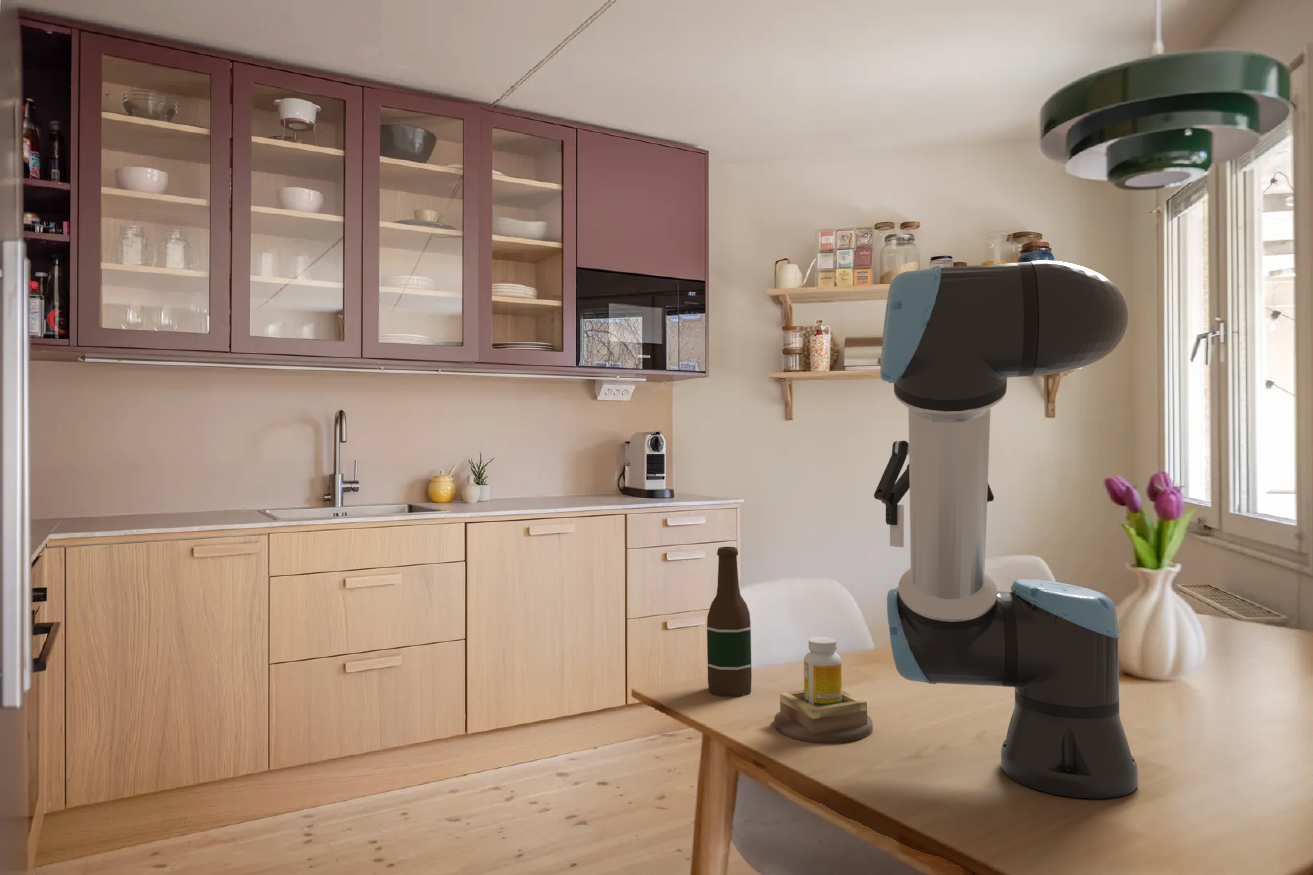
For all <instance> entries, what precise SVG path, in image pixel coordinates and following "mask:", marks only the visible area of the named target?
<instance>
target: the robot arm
mask: <svg viewBox="0 0 1313 875" xmlns="http://www.w3.org/2000/svg"><path fill="white" fill-rule="evenodd" d="M888 288H889V289H888V293H887V297H886V298H887V299H886V304H885V305H886V306H885V314H884V321H883V322H884V323H883V332H882V346H881V353H880V366H879V367H880V369H879V370H880V371H879V375H880V379H881V380H882V381H884V382H888V383H889V384H893V393H894V396H895V398H896V400H897V401H899V402H900V403H901V404H903V405H904V407H906V408H907V409H908V441H907V440H896V441H893V443H892V447H891V456H890V457H889V459H888V462H887V464H886V467H885V469H884V470H883V474H882V475H881V478H880V479H879V482H878V485H877V487H876V489H875V492H874V494H873V497H874V499H875V500H879V501H881V503H883V504H884V505H885V523H886V525H887V526H888V525H889V546H890V547H894V548H895V547H896V548H904V546H905V544H904V542H905V540H904V539H905V538H904V537H905V536H904V535H905V532H904V530H905V528H904V527H905V517H904V516H905V512H904V511H905V510H904V509H905V505H904V504H899V503H900V502H901V500H902V499H903V497H904V496H905V495H906V493H907V492H908V491H909V533H910V535H909V536H910V537H909V539H910V540H909V541H910V542H909V543H910V554H909V555H910V568H909V569H907V570H906V571H904V573H903V574H902V575H901V577H900V579H899V582H898V585H897V587H895V588H891V589H890V590H889V591H888V592H887V595H886V611H887V613H886V615H887V623H888V629H889V639H890V647H891V651H892V652H891V653H892V656H893V662H894V665H895V668H896V671H897V672H898V674H899V675H900V677H902V678H904V679H905V680H908V681H913V682H918V683H920V682H921V683H927V684H929V685H937V684H945V685H946V684H947V685H969V686H991V687H992V686H993V687H1005V688H1006V687H1008V688H1014V709H1013V712H1012V715H1011V718H1010V721H1009V724H1008V727H1007V732H1006V737H1005V740H1004V741H1003V742H1002V745H1001V749H1000V761H1001V762H1000V767H1001V770H1002V771H1003V773H1004V774H1005V775H1006V776H1007V777H1009V778H1010V779H1012V780H1013V781H1015V782H1017V783H1019V784H1021V785H1023V786H1025V787H1028V788H1030V789H1031V788H1032V789H1034V790H1037V791H1041V792H1044V793H1048V794H1052V795H1057V796H1064V797H1070V798H1080V799H1081V798H1082V799H1110V798H1111V799H1112V798H1118V797H1124V796H1126V795H1130V794H1131V793H1132V792H1135V790H1136V789H1137V788H1138V786H1139V783H1138V781H1139V780H1138V779H1139V778H1138V763H1137V762H1136V759H1135V757H1134V756H1133V755H1132V753H1131V749H1130V746H1129V742H1128V739H1127V736H1126V733H1125V730H1124V726H1123V723H1122V721H1121V715H1120V683H1119V682H1120V677H1119V676H1120V675H1119V674H1120V670H1119V668H1120V667H1119V639H1120V638H1121V635H1120V632H1119V626H1118V615H1117V608H1116V606H1115V603H1114V602H1113V600H1112V599H1111V598H1110V597H1109V596H1107V595H1106V594H1103V593H1102V592H1099V591H1096V590H1093V589H1091V588H1086V587H1083V586H1079V585H1075V584H1068V583H1064V582H1057V581H1050V580H1042V579H1033V578H1031V579H1027V578H1026V579H1025V578H1020V579H1015V580H1014V581H1013V582H1012V585H1011V586H1010V590H1011V591H998V587H997V585H996V583H995V581H994V580H993V579H992V577H991V576H990V575H989V574H988V573H986V545H987V516H988V512H987V511H988V503H989V502H993V501H994V500H995V496H994V494H993V491H992V490H991V486H990V485H989V463H990V462H989V458H990V433H991V431H990V430H991V408H993V407H994V406H996V405H997V404H998V403H1000V402H1001V401H1002V400H1003V399H1004V398H1005V396H1006V394H1007V388H1008V387H1007V386H1008V378H1018V377H1021V378H1022V377H1032V376H1033V377H1034V376H1037V377H1039V376H1048V375H1054V374H1060V373H1061V374H1062V373H1066V372H1069V371H1073V370H1076V369H1080V368H1084V367H1087V366H1089V365H1092V364H1094V363H1097V362H1099V361H1100V360H1102V359H1104V358H1105V357H1106V356H1108V355H1109V354H1111V353H1112V352H1113V351H1114V350H1115V349H1116V348H1117V347H1118V346H1119V344H1120V343H1121V342H1122V339H1123V337H1124V335H1125V333H1126V330H1127V327H1128V322H1129V312H1128V311H1129V310H1128V308H1127V302H1126V300H1125V298H1124V296H1123V294H1122V292H1121V291H1120V290H1119V288H1118V287H1117V286H1116V285H1115V284H1114V283H1113V282H1112V281H1111V280H1109V279H1108V278H1107V277H1106V276H1104V275H1103V274H1101V273H1099V272H1096V271H1094V270H1092V269H1089V268H1086V267H1084V266H1081V265H1077V264H1074V263H1069V262H1063V261H1058V260H1056V261H1055V260H1032V261H1030V260H1029V261H1027V262H1025V261H1024V262H1009V263H1008V262H1007V263H995V264H978V265H977V264H976V265H963V266H948V267H947V266H946V267H940V266H937V265H936V266H932V267H931V268H926V269H918V270H917V269H916V270H910V271H908V270H907V271H903V272H901V273H899V274H897V275H896V276H895V277H894V278H893V279H892V281H891V282H890V285H889V287H888ZM907 456H908V464H907V465H906V469H905V470H904V471H903V473H902V474H901V475H900V473H901V471H902V469H903V467H904V464H905V462H906V459H907ZM899 475H900V476H899ZM898 477H899V478H898Z"/></svg>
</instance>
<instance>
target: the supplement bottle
mask: <svg viewBox="0 0 1313 875" xmlns="http://www.w3.org/2000/svg"><path fill="white" fill-rule="evenodd" d="M837 649H838V646H837V640H836V639H835V638H832V637H826V636H825V637H824V636H816V637H811V638H809V639H808V650H809V651H810V652H807V653H806V654H805V656H804V658H803V685H804V686H803V690H804V702H806V703H808V704H810V705H812V706H814V707H818V706H825V705H832V704H838V703H842V691H843V688H842V687H843V686H842V683H843V681H842V679H843V678H842V677H843V676H842V674H843V673H842V658H841V656H840V655H839V654H838V653H836V651H837Z"/></svg>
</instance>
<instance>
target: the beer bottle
mask: <svg viewBox="0 0 1313 875" xmlns="http://www.w3.org/2000/svg"><path fill="white" fill-rule="evenodd" d="M738 555H739V551H738V548H737V547H735V546H720V547H718V548H717V552H716V556H718V566H717V569H718V570H717V587H716V595H715V596H714V598H713V600H712V601H711V604H710V607H709V609H708V610H709V611H708V613H707V618H706V619H707V621H706V643H707V644H706V646H707V649H706V650H707V651H706V652H707V654H706V655H707V684H708V685H707V687H708V692H709V694H712V695H715V694H717V695H716V696H718V695H719V697H721V696H739V697H741V696H740V695H743V694H747V695H749V694H748V693H750V694H751V692H752V675H753V674H752V673H753V672H752V634H751V632H752V628H751V626H752V625H751V613H750V610H749V608H748V605H747V602H746V601H745V600H744V598H743V597H742V595H741V591H740V590H741V589H740V584H739V582H740V581H739V574H738V573H739V572H738V559H737V558H738V557H737V556H738ZM743 696H744V695H743Z"/></svg>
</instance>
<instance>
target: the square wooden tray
mask: <svg viewBox="0 0 1313 875" xmlns="http://www.w3.org/2000/svg"><path fill="white" fill-rule="evenodd" d="M779 706H780V707H779V712H777V713H775V715H774V728H775V729H776V731H777V732H779V733H780V734H782V735H783V736H786V737H788V738H792V739H795V740H799V741H804V742H809V743H817V744H819V743H820V744H840V743H841V744H843V743H849V742H857V741H858V740H861V739H864V738H865V739H866V738H867V737H869V736H870V735H871V734H872V733H873V728H874V726H873V719H872V718H871V717H870V716H869V715H868V701H866V700H864V699H861V698H859V697H858V696H857V697H856V695H853V694H850V693H848V692H846V691H843V690H842V703H838V704H832V705H825V706H818V707H814V706H812V705H810V704H808V703H806V702H804V689H802V690H794V691H793V690H792V691H787V692H780V693H779Z"/></svg>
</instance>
